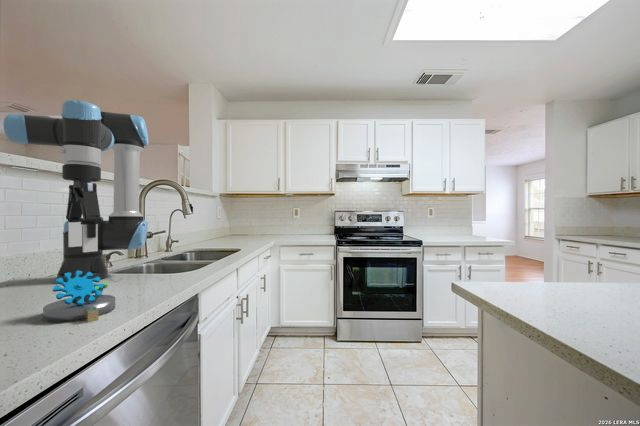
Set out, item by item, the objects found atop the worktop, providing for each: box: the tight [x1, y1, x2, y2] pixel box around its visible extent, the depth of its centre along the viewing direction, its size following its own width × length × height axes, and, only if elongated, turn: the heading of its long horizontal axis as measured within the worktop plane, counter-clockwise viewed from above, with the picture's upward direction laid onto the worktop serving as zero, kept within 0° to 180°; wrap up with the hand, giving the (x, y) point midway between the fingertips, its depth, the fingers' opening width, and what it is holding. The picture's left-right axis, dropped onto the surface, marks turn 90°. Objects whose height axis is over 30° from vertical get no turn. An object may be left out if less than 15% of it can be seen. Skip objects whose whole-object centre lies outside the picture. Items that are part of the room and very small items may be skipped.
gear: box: [52, 271, 109, 305], centre depth 74 cm, size 11×6×10 cm
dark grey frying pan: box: [42, 294, 116, 324], centre depth 72 cm, size 17×14×2 cm
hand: (82, 249), depth 74 cm, fingers open, 13 cm apart
